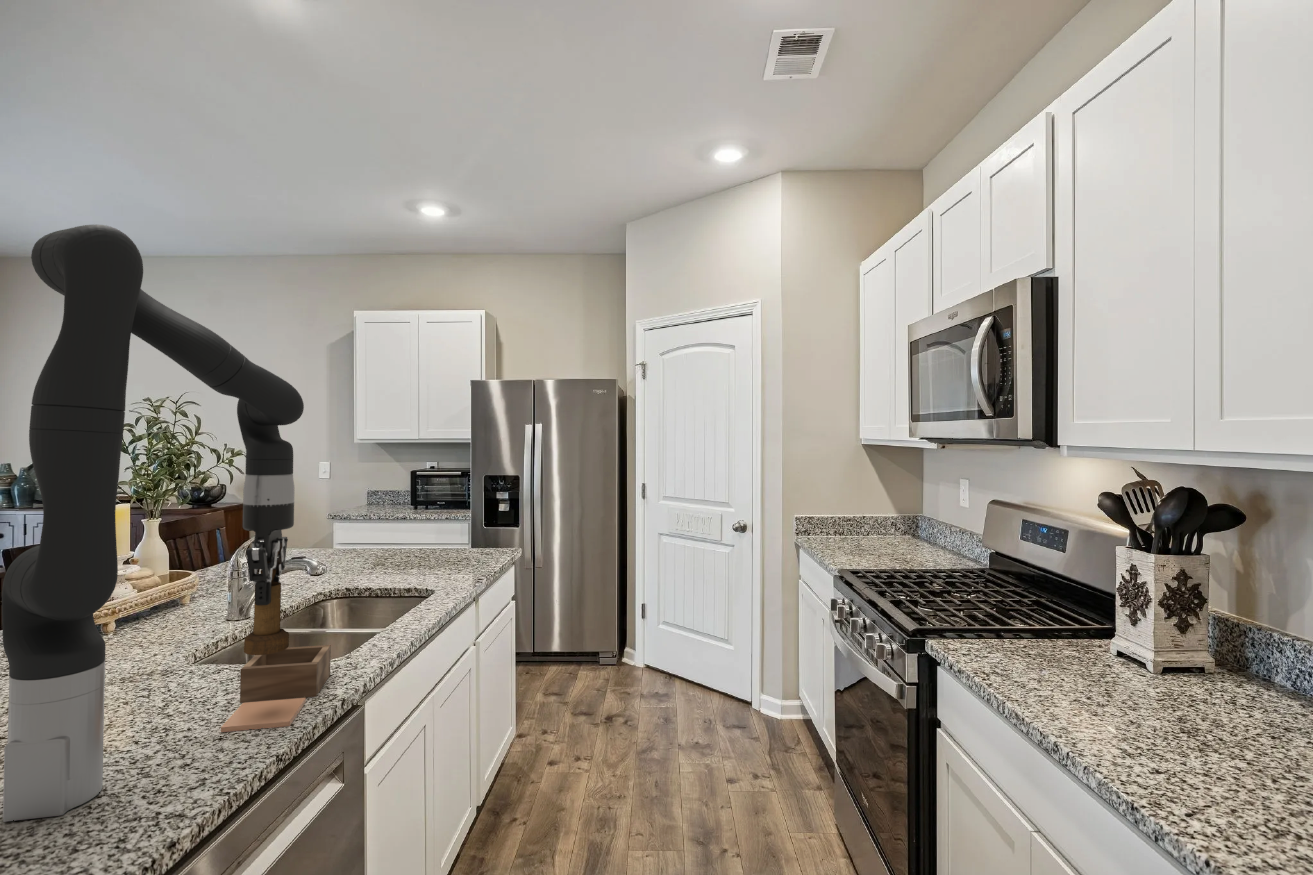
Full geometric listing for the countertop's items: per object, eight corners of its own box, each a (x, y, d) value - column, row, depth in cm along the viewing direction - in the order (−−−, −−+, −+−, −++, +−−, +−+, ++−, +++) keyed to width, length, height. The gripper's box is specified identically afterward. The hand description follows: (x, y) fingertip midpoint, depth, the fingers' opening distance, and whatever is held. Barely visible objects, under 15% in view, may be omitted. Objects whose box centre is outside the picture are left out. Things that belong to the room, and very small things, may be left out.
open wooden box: (316, 696, 119) (316, 663, 119) (239, 702, 115) (240, 669, 115) (330, 674, 130) (330, 644, 130) (260, 679, 126) (261, 649, 126)
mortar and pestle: (267, 656, 106) (269, 547, 106) (234, 653, 107) (236, 545, 108) (297, 644, 113) (299, 541, 113) (265, 642, 114) (267, 540, 114)
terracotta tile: (289, 726, 106) (289, 721, 106) (220, 732, 104) (220, 727, 104) (305, 702, 116) (305, 697, 116) (242, 707, 113) (243, 702, 114)
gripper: (281, 504, 104) (279, 611, 104) (304, 497, 118) (302, 590, 118) (228, 505, 102) (226, 613, 102) (258, 497, 116) (256, 592, 116)
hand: (267, 600), depth 110 cm, fingers closed on mortar and pestle, 4 cm apart
